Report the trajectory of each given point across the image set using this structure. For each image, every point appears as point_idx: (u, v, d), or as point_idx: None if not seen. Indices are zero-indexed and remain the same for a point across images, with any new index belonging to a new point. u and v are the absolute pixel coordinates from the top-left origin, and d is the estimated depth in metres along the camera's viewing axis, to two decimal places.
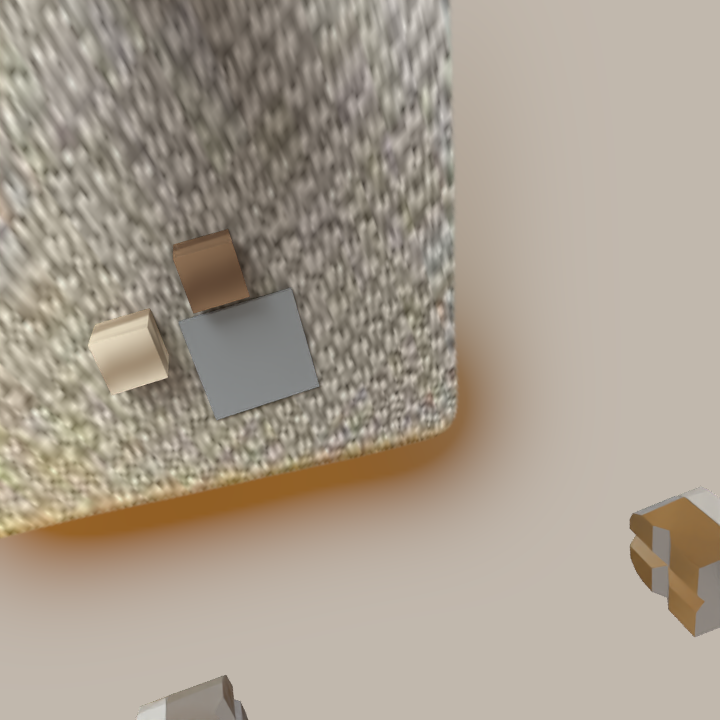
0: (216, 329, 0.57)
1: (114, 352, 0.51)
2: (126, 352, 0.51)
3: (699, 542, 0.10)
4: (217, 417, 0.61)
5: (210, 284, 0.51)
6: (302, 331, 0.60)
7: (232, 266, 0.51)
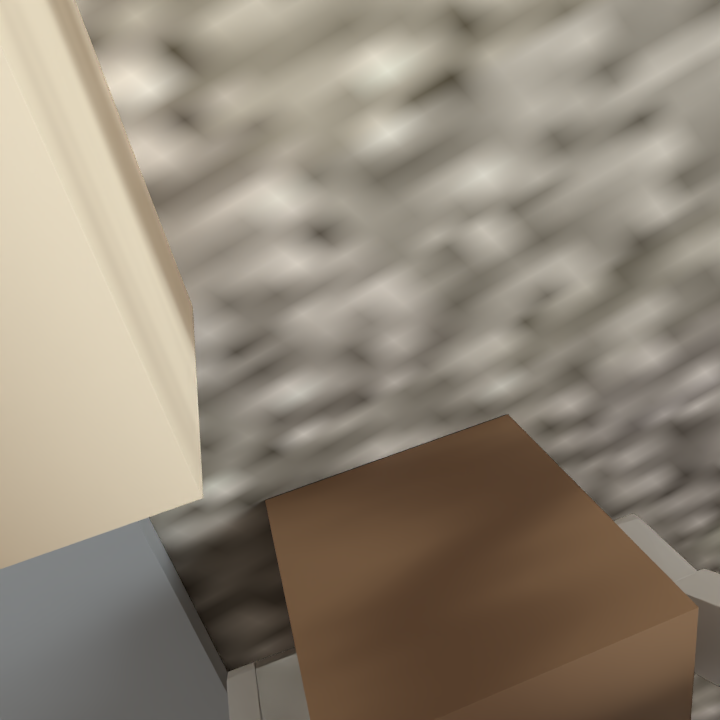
0: (87, 637, 0.11)
1: None
2: None
3: None
4: None
5: None
6: None
7: None
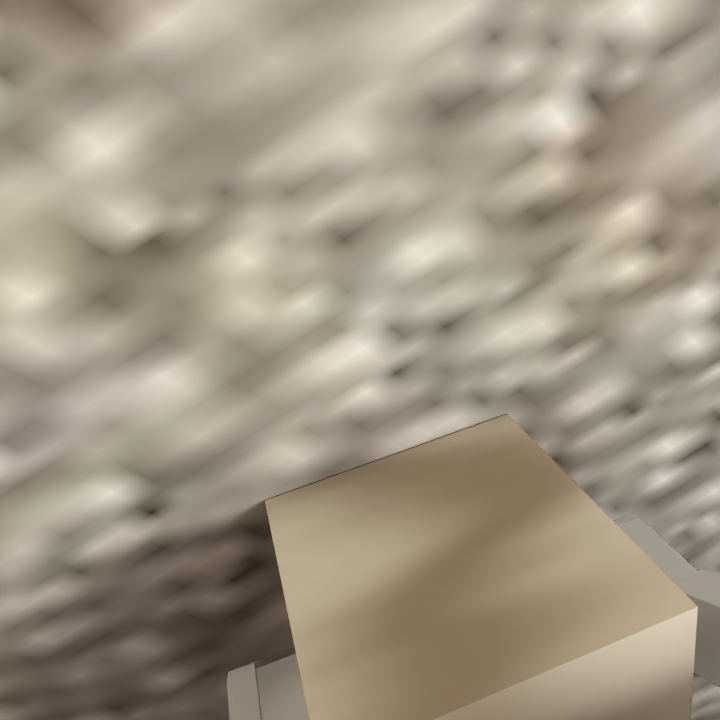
0: None
1: None
2: None
3: None
4: None
5: None
6: None
7: None
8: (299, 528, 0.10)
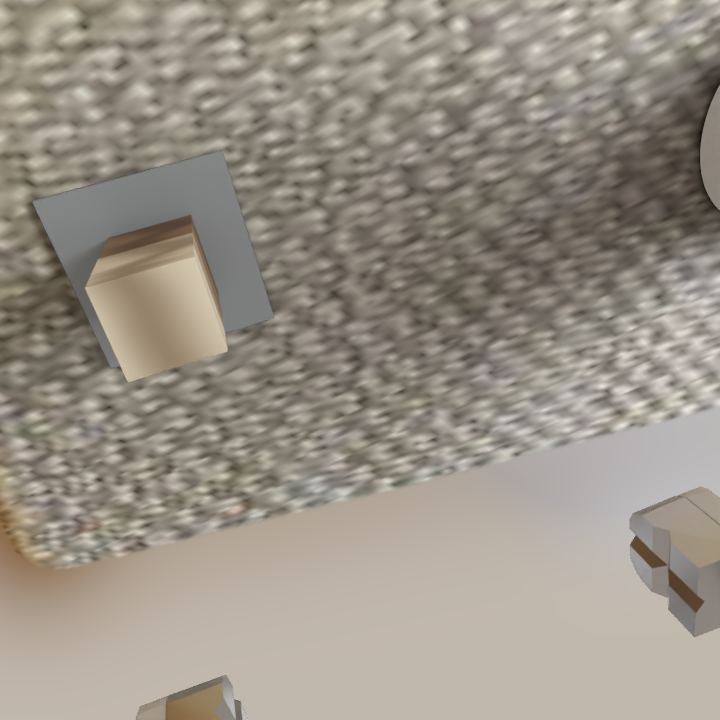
0: (211, 209, 0.37)
1: (179, 299, 0.28)
2: (179, 317, 0.29)
3: (699, 542, 0.10)
4: (38, 204, 0.34)
5: None
6: None
7: None
8: (105, 261, 0.30)
